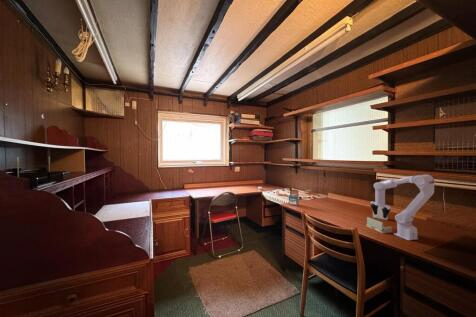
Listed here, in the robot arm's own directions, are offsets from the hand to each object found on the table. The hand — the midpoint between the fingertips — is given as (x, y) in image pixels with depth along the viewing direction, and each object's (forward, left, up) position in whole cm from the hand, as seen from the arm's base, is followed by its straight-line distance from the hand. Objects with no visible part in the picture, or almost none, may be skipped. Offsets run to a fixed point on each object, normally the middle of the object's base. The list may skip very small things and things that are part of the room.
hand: (380, 216), depth 135 cm
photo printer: (+18, -20, -10) cm, 28 cm away
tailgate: (0, +5, -8) cm, 10 cm away
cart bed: (0, +1, -9) cm, 10 cm away
